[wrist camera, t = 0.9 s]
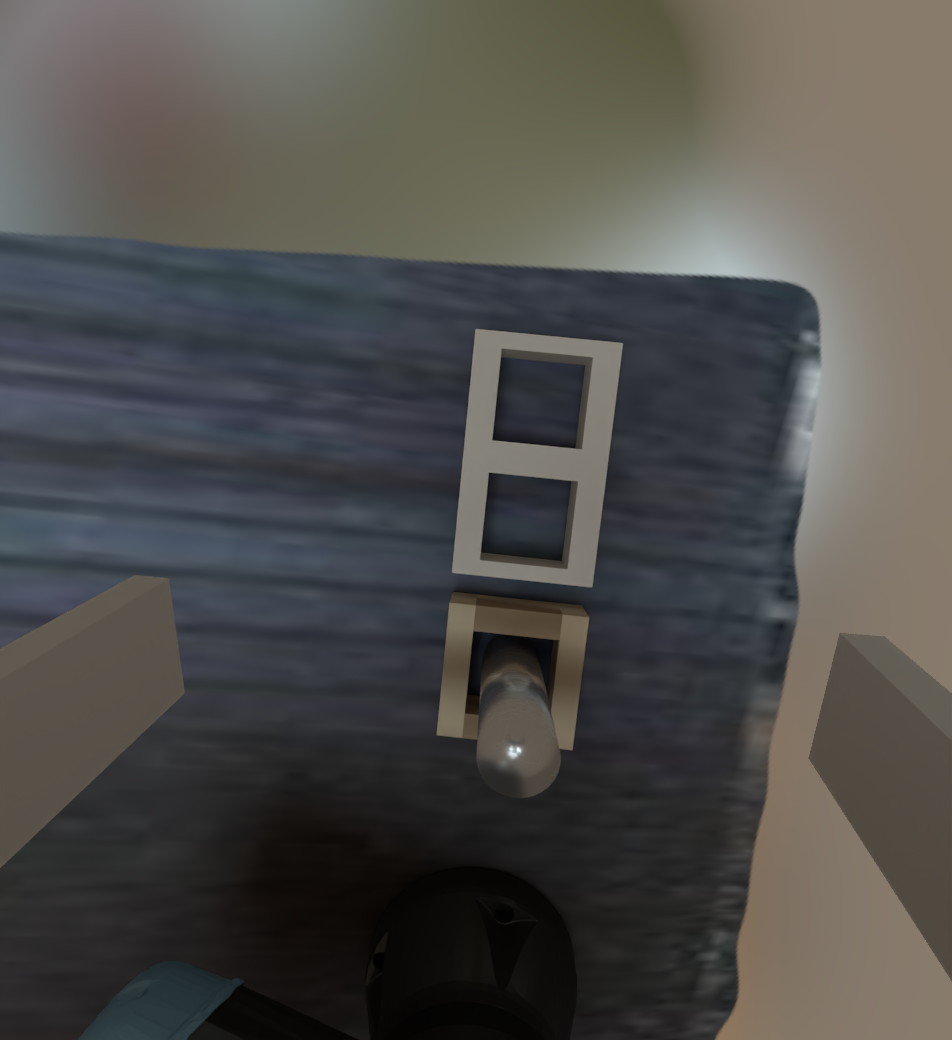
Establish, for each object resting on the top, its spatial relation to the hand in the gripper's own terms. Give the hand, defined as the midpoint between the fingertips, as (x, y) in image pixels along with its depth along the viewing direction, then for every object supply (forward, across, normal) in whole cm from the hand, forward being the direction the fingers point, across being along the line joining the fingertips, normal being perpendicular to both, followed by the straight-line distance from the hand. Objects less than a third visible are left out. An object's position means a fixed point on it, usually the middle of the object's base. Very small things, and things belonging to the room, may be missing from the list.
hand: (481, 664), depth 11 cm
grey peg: (+25, 0, +15) cm, 29 cm away
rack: (+28, 0, +1) cm, 28 cm away
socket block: (+25, 0, +15) cm, 29 cm away
